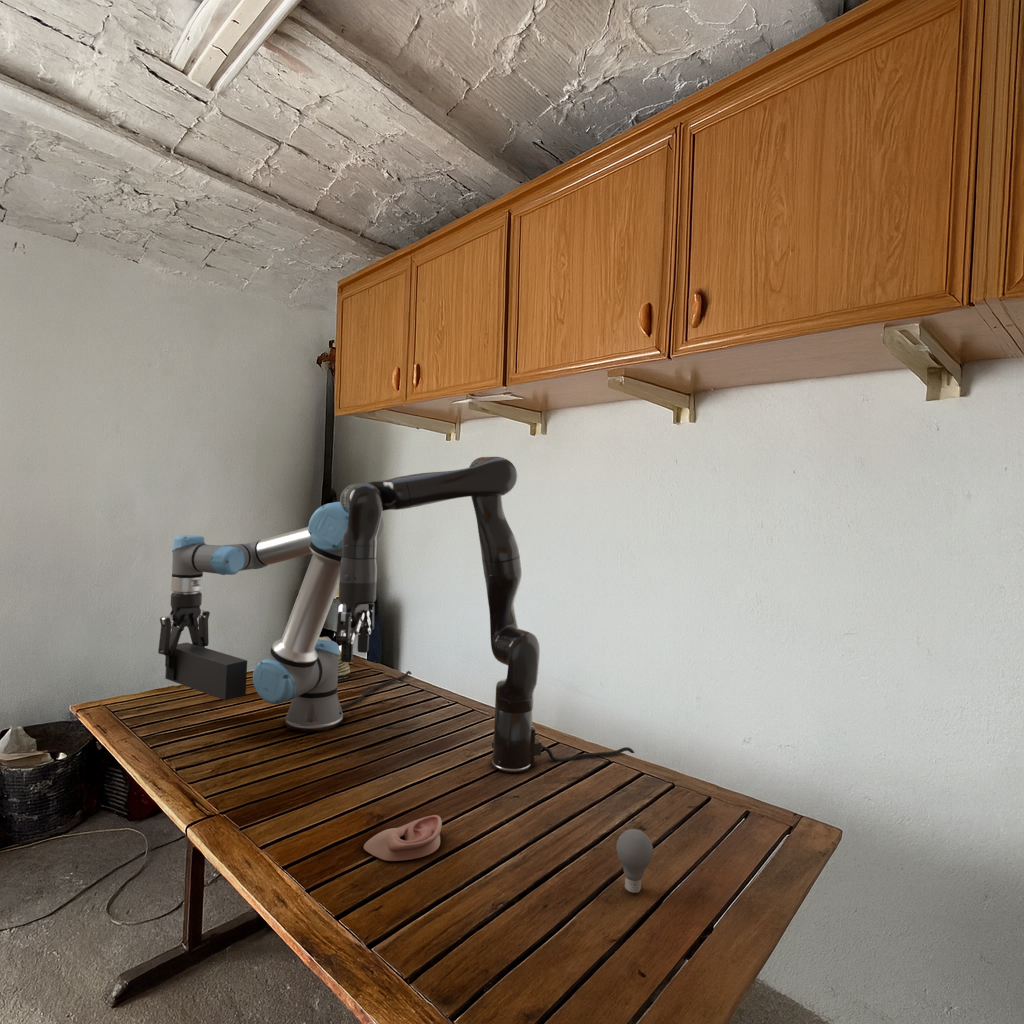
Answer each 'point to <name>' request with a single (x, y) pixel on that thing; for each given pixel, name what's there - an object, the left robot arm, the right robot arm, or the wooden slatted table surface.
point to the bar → (210, 671)
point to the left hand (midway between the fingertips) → (182, 676)
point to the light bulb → (634, 857)
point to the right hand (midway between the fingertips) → (355, 656)
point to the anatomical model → (407, 840)
